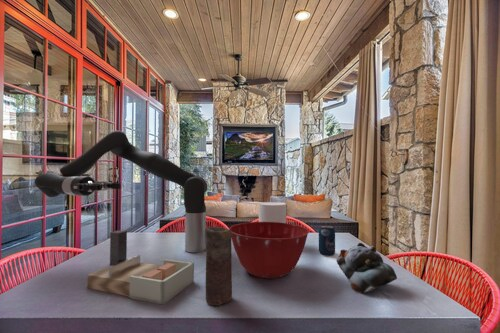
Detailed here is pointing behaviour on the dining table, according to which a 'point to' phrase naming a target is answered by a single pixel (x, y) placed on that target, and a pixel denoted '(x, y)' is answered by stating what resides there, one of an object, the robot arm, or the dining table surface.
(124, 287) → the curved wooden platform
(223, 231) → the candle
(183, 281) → the tray
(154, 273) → the tile
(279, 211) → the canister
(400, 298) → the dining table surface
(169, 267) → the tile
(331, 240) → the soda can
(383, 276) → the lucky cat figurine
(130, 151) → the robot arm
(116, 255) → the dark piece
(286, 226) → the mixing bowl
